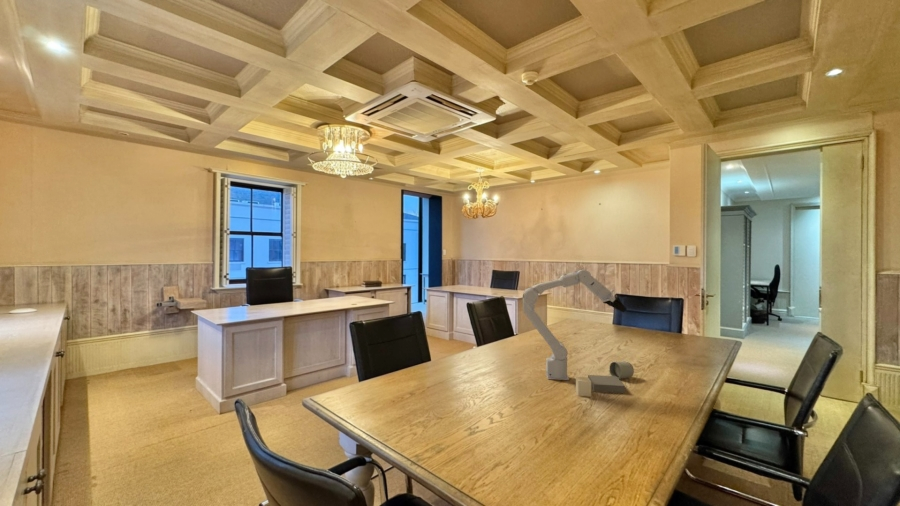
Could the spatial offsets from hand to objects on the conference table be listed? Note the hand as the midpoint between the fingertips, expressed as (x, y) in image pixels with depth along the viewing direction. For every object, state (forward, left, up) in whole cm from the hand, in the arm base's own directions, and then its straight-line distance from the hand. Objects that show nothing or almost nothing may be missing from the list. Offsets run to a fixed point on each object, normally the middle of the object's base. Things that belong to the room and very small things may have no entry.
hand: (622, 309), depth 166 cm
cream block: (-21, -19, -32) cm, 43 cm away
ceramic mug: (0, +5, -32) cm, 33 cm away
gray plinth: (-10, -10, -32) cm, 35 cm away
